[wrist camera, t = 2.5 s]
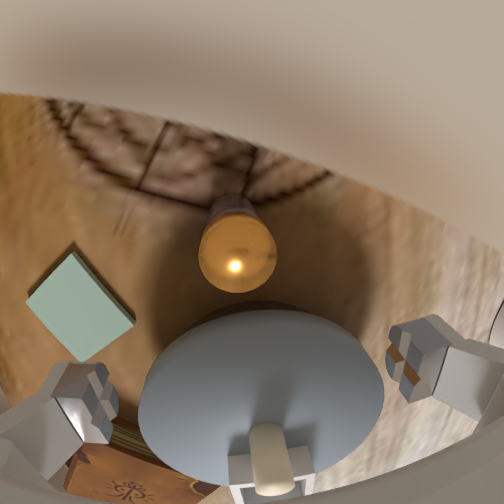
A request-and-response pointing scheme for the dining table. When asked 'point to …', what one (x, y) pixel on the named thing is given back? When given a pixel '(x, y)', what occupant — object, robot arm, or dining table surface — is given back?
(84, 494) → the diary
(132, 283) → the dining table surface
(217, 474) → the dial
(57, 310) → the mat
